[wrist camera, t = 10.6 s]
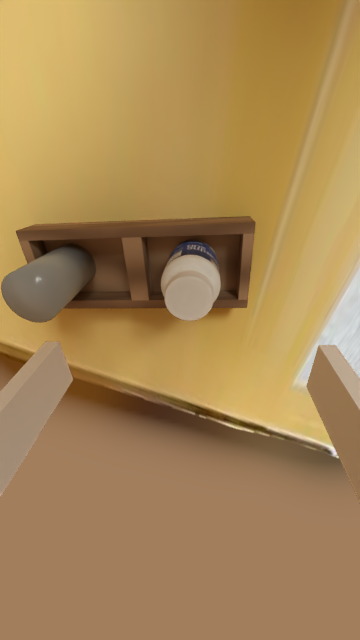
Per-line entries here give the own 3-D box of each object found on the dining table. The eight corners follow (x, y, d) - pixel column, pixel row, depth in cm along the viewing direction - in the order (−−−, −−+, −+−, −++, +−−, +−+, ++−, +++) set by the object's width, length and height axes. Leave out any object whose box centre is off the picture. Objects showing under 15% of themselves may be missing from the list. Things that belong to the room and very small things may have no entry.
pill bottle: (227, 258, 28) (237, 296, 20) (196, 292, 30) (193, 339, 22) (189, 227, 27) (183, 252, 18) (160, 265, 29) (142, 303, 21)
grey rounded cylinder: (48, 244, 29) (-9, 271, 21) (90, 242, 28) (47, 270, 21) (61, 284, 31) (14, 322, 24) (99, 284, 31) (64, 322, 23)
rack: (35, 224, 29) (15, 231, 26) (249, 216, 26) (255, 222, 23) (58, 295, 33) (44, 308, 30) (242, 294, 31) (246, 307, 28)
